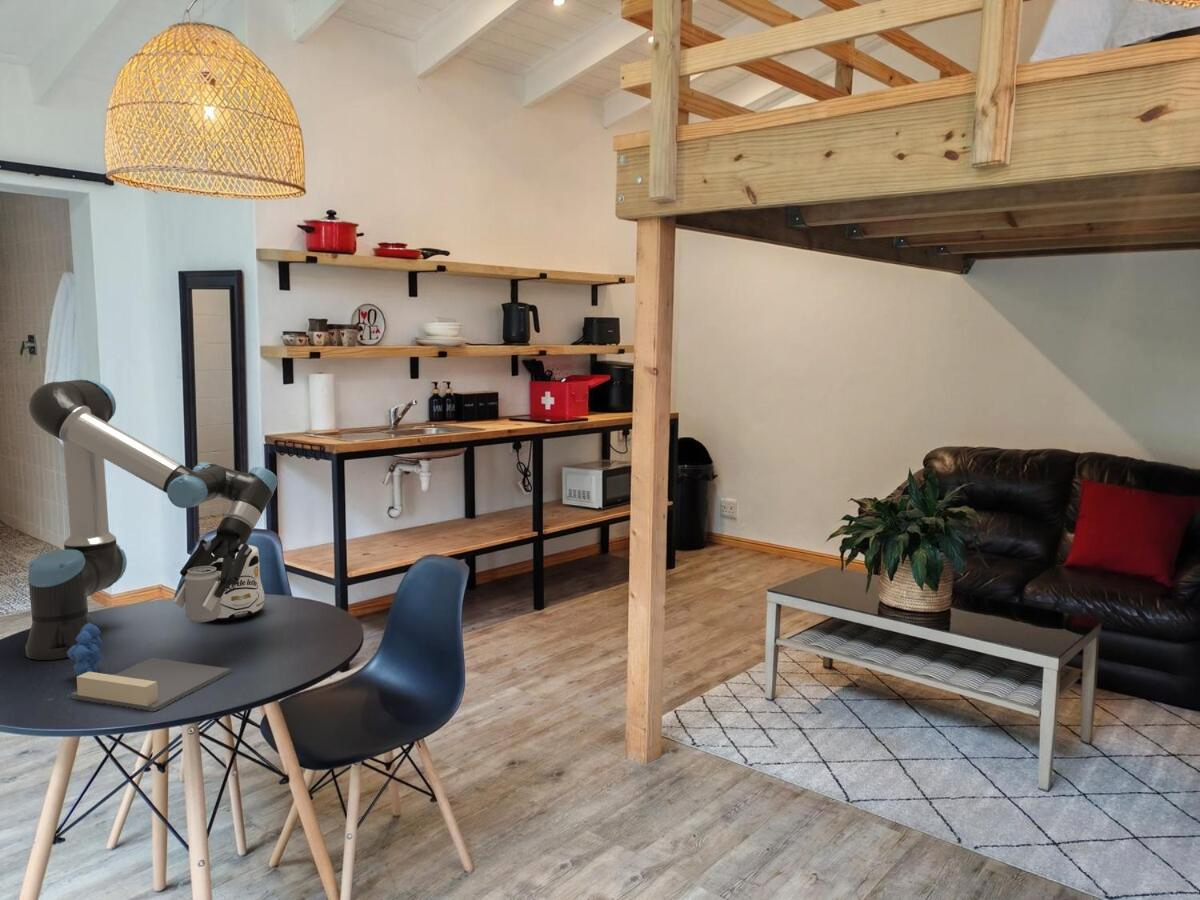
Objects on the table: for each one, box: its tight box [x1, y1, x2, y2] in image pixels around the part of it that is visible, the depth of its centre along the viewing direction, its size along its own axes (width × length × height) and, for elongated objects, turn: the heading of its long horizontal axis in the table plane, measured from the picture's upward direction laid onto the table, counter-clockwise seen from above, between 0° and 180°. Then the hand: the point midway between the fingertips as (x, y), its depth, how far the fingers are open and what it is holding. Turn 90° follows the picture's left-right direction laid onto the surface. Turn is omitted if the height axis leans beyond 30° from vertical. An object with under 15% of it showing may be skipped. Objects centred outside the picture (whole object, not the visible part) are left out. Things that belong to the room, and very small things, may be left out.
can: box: [185, 566, 221, 623], centre depth 205 cm, size 8×8×12 cm
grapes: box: [67, 623, 103, 676], centre depth 196 cm, size 12×7×12 cm, turn 12°
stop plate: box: [70, 657, 231, 712], centre depth 192 cm, size 22×22×5 cm
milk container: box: [210, 544, 265, 621], centre depth 240 cm, size 17×17×18 cm
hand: (192, 606), depth 202 cm, fingers closed on can, 7 cm apart
